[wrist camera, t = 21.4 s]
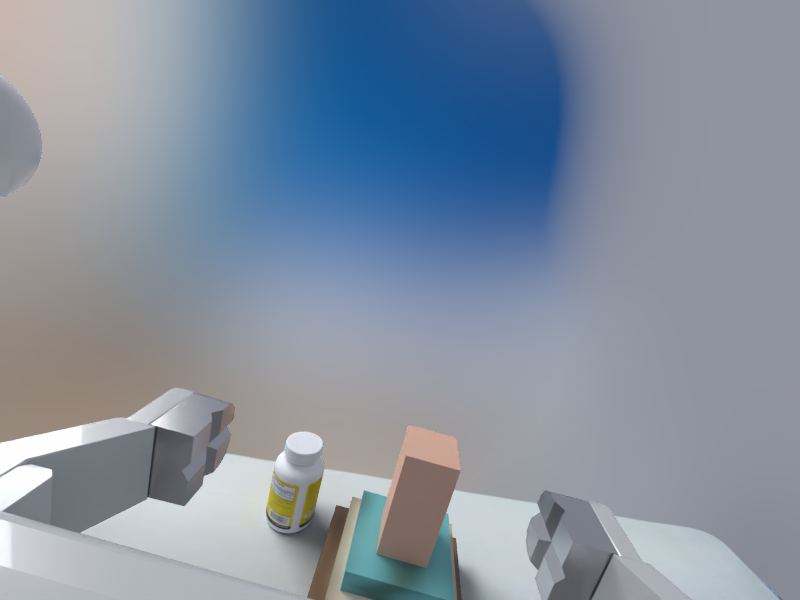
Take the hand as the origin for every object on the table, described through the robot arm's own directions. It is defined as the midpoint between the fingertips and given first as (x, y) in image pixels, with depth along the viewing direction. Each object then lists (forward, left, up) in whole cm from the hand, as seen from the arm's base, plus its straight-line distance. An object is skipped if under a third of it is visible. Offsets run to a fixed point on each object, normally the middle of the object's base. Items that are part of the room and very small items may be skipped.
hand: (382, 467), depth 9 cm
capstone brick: (+5, +20, -22) cm, 30 cm away
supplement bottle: (-7, +27, -30) cm, 41 cm away
